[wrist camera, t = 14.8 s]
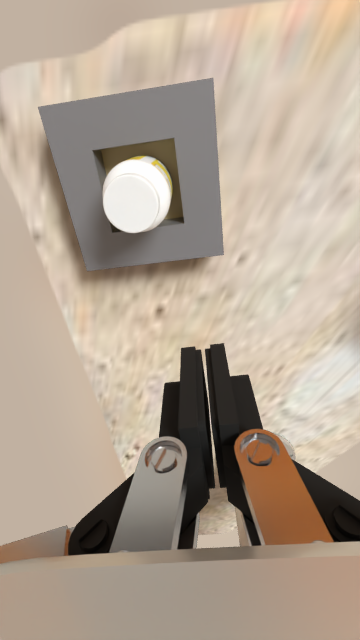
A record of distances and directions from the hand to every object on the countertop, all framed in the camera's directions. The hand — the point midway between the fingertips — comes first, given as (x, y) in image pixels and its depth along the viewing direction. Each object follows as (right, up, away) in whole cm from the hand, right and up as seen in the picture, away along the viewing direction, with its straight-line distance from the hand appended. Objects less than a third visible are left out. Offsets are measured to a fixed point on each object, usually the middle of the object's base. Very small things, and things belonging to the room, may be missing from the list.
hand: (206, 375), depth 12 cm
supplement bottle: (-4, +15, +18) cm, 24 cm away
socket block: (-4, +16, +19) cm, 25 cm away
